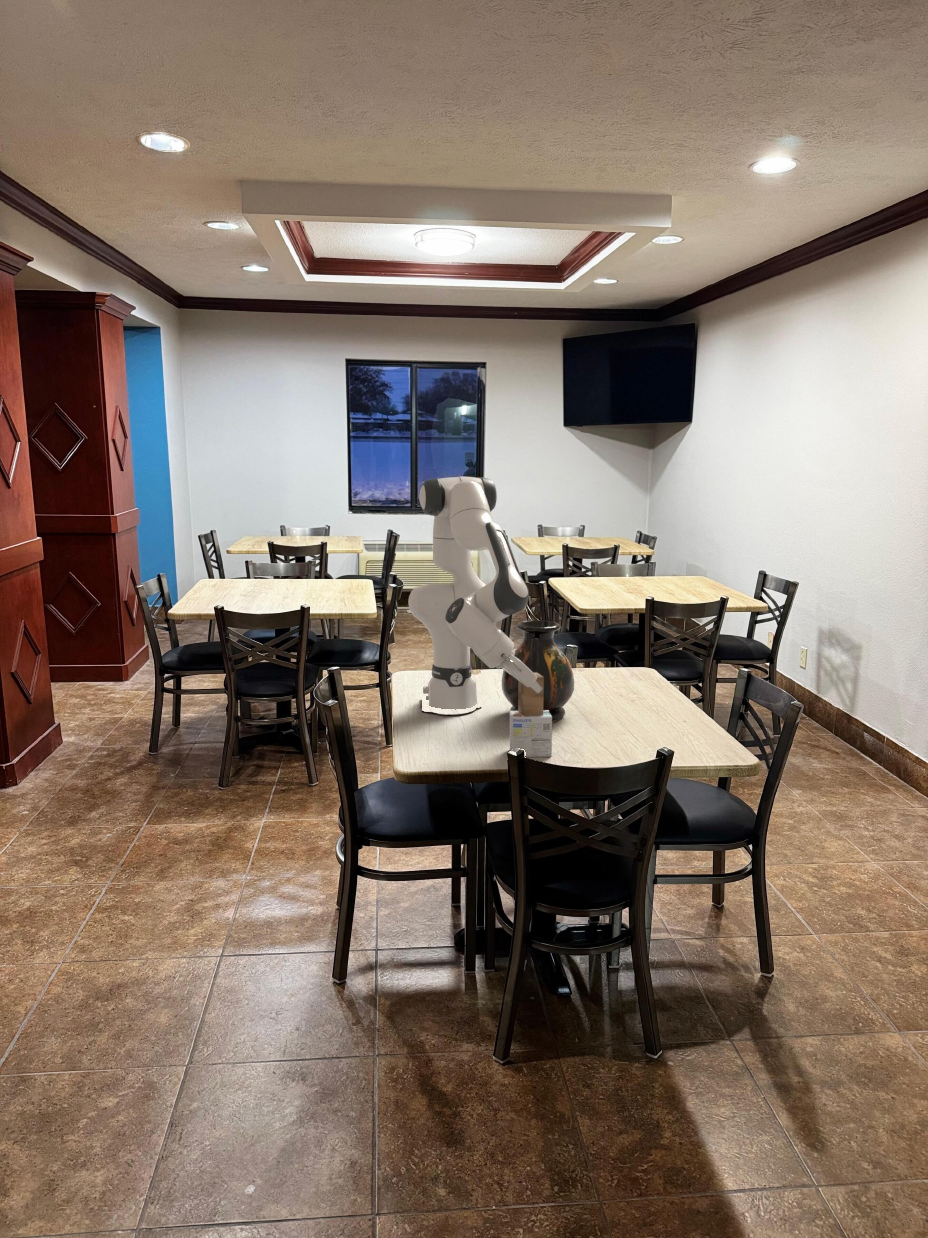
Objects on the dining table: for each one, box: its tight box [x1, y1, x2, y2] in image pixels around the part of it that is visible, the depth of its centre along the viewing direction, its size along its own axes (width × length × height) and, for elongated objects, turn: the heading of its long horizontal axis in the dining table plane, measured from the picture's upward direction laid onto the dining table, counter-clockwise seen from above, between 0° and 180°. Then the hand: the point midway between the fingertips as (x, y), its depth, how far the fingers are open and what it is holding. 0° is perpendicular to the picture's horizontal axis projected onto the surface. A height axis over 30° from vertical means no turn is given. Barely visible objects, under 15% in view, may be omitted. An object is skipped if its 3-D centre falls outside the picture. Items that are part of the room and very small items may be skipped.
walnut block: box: [518, 673, 544, 717], centre depth 216 cm, size 5×5×10 cm
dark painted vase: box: [501, 619, 575, 722], centre depth 249 cm, size 22×22×28 cm
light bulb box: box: [509, 710, 553, 758], centre depth 218 cm, size 11×7×11 cm, turn 92°
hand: (533, 686), depth 216 cm, fingers open, 8 cm apart
